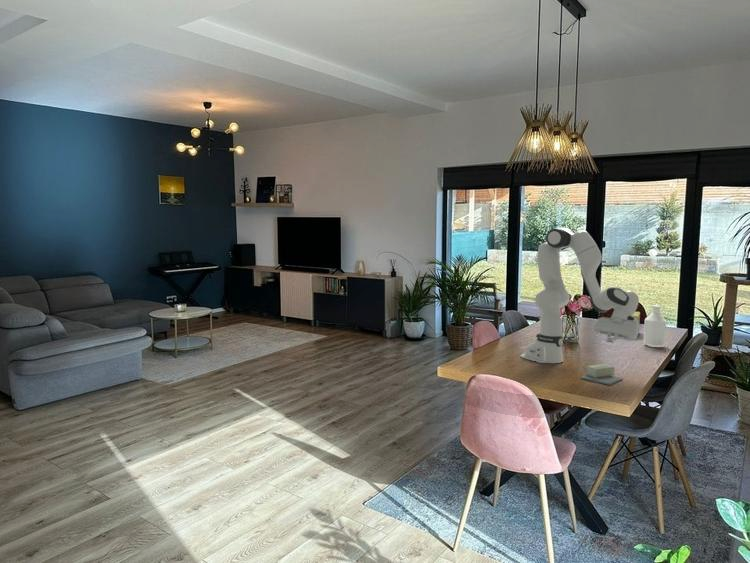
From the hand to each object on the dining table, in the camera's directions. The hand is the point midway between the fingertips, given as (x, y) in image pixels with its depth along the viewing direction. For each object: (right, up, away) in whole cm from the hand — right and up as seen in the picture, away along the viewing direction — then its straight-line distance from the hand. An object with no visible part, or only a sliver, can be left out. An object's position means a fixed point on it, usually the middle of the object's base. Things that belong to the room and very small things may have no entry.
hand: (609, 341), depth 260 cm
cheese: (+63, -8, +108) cm, 125 cm away
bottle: (+59, -11, +74) cm, 95 cm away
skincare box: (+2, -14, +4) cm, 14 cm away
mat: (-5, -18, -3) cm, 19 cm away
